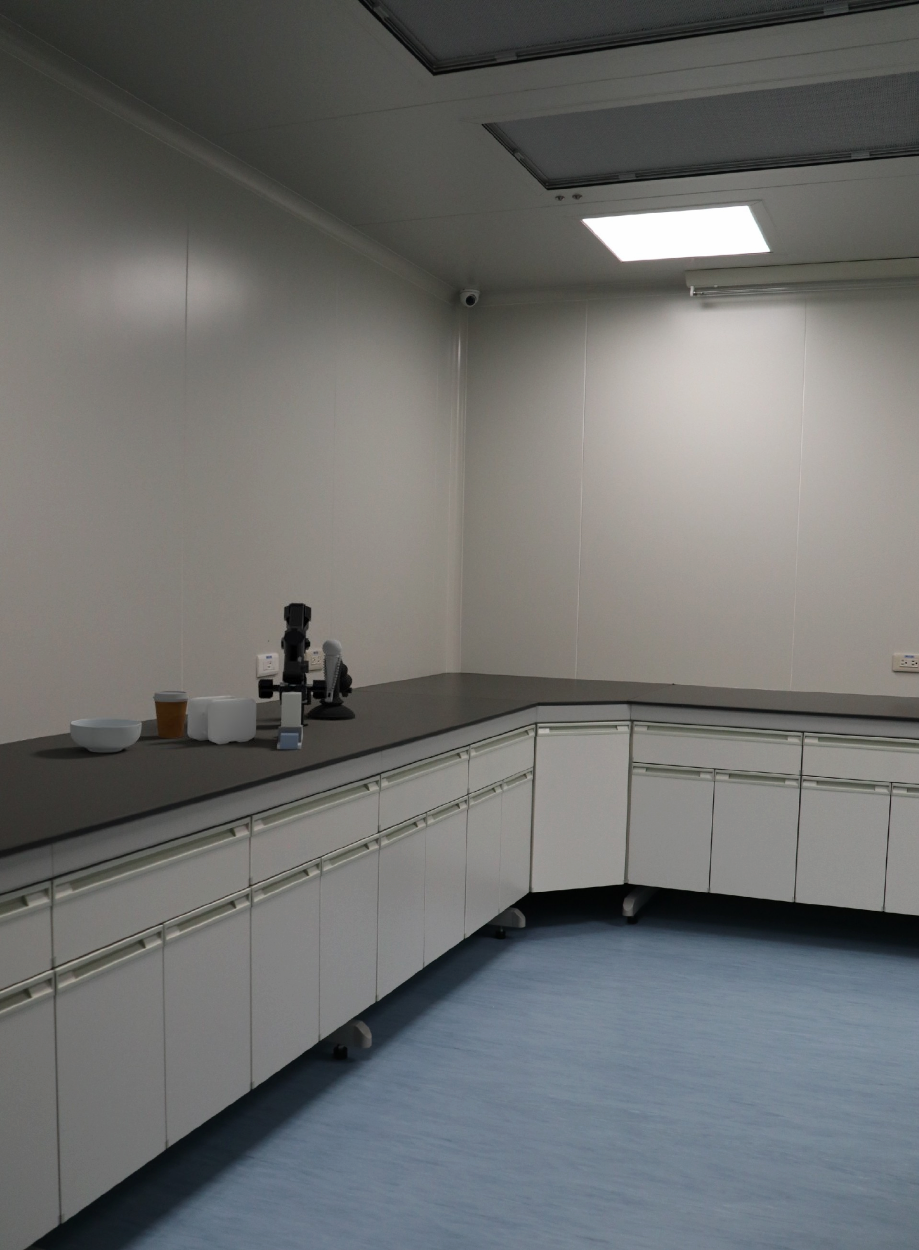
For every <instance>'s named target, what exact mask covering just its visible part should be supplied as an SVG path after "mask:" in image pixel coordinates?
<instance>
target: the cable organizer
mask: <svg viewBox="0 0 919 1250" xmlns="http://www.w3.org/2000/svg"><path fill="white" fill-rule="evenodd" d="M186 733H187V736H188V737H189V738H191V739H194V740H197V741H199V742H200V741H208V740H209V741H210V742H212V743H216V745H225V744H229V742H230V743H231V742H236V743H242V742H243V743H244V742H249V740H251V739H253V738H254V737H255V736H256V733H257V701H256V700H255V699H254V698H251V697H239V698H237V697H236V696H235V695H219V696H218V695H217V696H203V697H201V696H200V697H193V698H192V699H190V700H188V702H187V732H186Z"/></svg>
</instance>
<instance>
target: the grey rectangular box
mask: <svg viewBox="0 0 919 1250" xmlns="http://www.w3.org/2000/svg"><path fill="white" fill-rule="evenodd" d="M280 720H281V721H280V723H281V725H280V726H301V692H283V693H282V705H281V718H280Z"/></svg>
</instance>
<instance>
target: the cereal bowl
mask: <svg viewBox="0 0 919 1250" xmlns="http://www.w3.org/2000/svg"><path fill="white" fill-rule="evenodd" d="M69 724H70V725H69V732H70V733H69V734H70V736H71V740H73V742H74V743H76V744H77V745H79V746H81V747H82V748H86V749H87V750H88V751H89V752H91V753H100V754H101V753H104V754H105V753H106V754H107V753H116V752H121V751H122V750H123V749H125V748H127V747H130V746H132V745H134V744H135V743H136V742H137V741H138V740H139V738H140V736H141V733H142V724H143V723H142V722H141V721H140V720H135V719H130V718H129V719H127V718H114V717H113V718H111V717H100V718H99V717H98V718H97V717H94V718H82V719H76V720H73V721H71V722H70V723H69Z"/></svg>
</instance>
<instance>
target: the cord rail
mask: <svg viewBox="0 0 919 1250" xmlns="http://www.w3.org/2000/svg"><path fill="white" fill-rule="evenodd" d="M303 727H304V726H303V725H301V726H281V725H280V726H279V725H278V727H277V728H278V731H277V733H278V734H277V744H276V749H277V750H301V749H302V744H303V738H304V732H303V731H304V730H303Z"/></svg>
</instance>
